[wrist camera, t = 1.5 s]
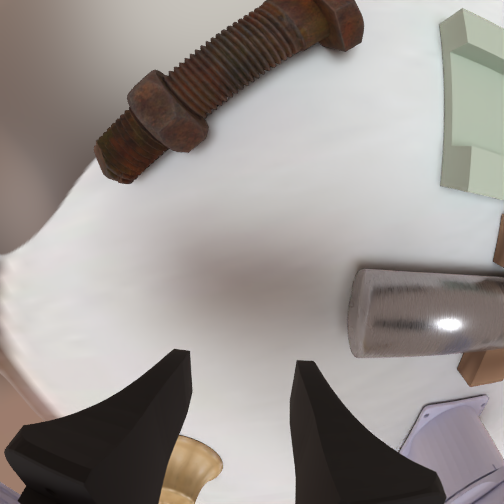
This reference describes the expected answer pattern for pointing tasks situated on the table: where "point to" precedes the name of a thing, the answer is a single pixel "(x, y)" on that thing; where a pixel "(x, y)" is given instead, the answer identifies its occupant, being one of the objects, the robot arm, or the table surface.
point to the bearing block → (490, 361)
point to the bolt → (218, 79)
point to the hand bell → (189, 471)
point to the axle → (424, 314)
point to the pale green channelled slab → (473, 105)
